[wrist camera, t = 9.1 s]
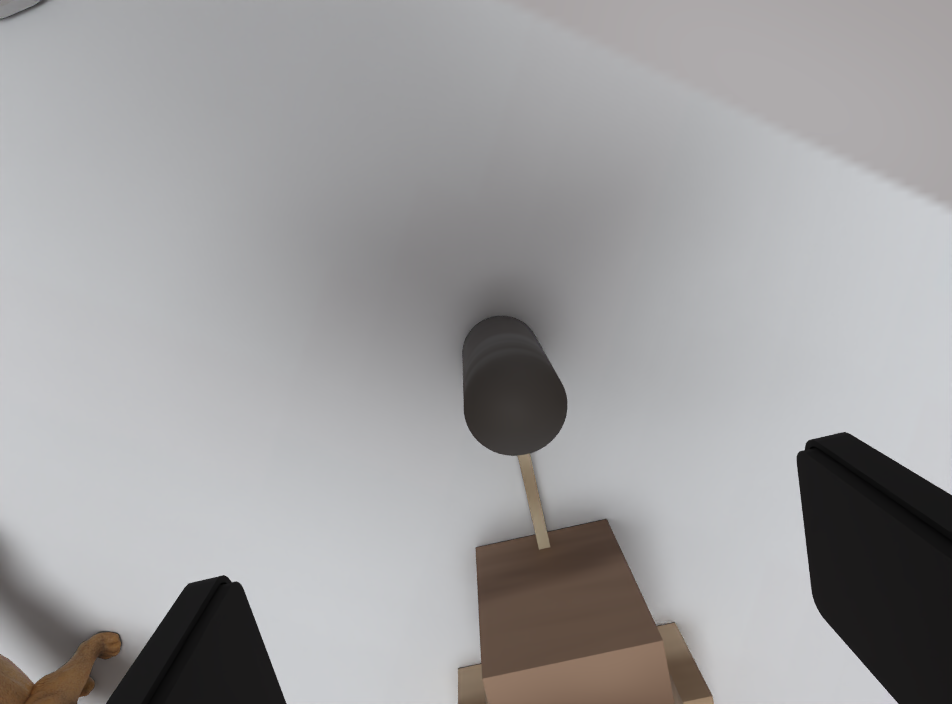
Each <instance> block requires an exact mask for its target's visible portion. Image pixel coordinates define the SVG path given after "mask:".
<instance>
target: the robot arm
mask: <svg viewBox="0 0 952 704" xmlns="http://www.w3.org/2000/svg"><path fill="white" fill-rule="evenodd" d="M39 1H41V0H0V19H1V18H5V17H8V16H10V15H12V14H15V13H17V12H19V11H22V10H24V9H26V8H29V7H31V6H33V5H35V4H37V3H38V2H39ZM797 468H798V477H799V485H800V494H801V503H802V511H803V520H804V528H805V537H806V546H807V554H808V563H809V572H810V580H811V589H812V595H813V599H814V602H815V604H816V606H817V609H818V610H819V612H820V614H821V615H822V617H823V618H824V619H825V620H826V622H827V623H828V624H829V625H830V626H831V627H832V628H833V629H834V631H835V632H836V633H837V634H838V635H839V636H840V637H841V639H842V640H843V641H844V642H845V643H846V644H847V645H848V647H849V648H850V649H851V650H852V651H853V652H854V653H855V655H856V656H857V657H858V658H859V659H860V660H861V661H862V663H863V664H864V665H865V666H866V667H867V668H868V669H869V671H870V672H871V673H872V674H873V675H874V676H875V677H876V679H877V680H878V681H879V682H880V683H881V684H882V685H883V687H884V688H885V689H886V690H887V691H888V692H889V693H890V695H891V696H892V697H893V698H894V699H895V700H896V701H897V703H898V704H952V495H950V494H949V493H947V492H945V491H944V490H942V489H940V488H939V487H937V486H935V485H934V484H932V483H930V482H929V481H927V480H925V479H924V478H922V477H920V476H919V475H917V474H916V473H914V472H912V471H911V470H909V469H907V468H906V467H904V466H902V465H901V464H899V463H897V462H896V461H894V460H892V459H891V458H889V457H887V456H886V455H884V454H882V453H881V452H879V451H877V450H876V449H874V448H872V447H871V446H869V445H867V444H866V443H864V442H862V441H861V440H859V439H857V438H856V437H854V436H852V435H851V434H849V433H846V432H843V433H838V434H834V435H829V436H825V437H821V438H816V439H812V440H809V441H808V442H807V443H806V446H805V450H804V451H800V452H799V453H798V455H797ZM106 704H286V701H285V699H284V696H283V693H282V691H281V688H280V685H279V683H278V680H277V677H276V675H275V672H274V669H273V667H272V664H271V661H270V659H269V656H268V653H267V651H266V648H265V645H264V643H263V640H262V637H261V635H260V632H259V629H258V626H257V624H256V621H255V618H254V616H253V613H252V610H251V608H250V605H249V602H248V600H247V597H246V594H245V592H244V589H243V587H242V585H241V584H240V583H239V582H231V580H230V579H229V578H228V577H226V576H224V575H223V576H219V577H215V578H210V579H206V580H202V581H197V582H193V583H189V584H188V585H187V586H186V587H185V588H184V590H183V591H182V592H181V594H180V595H179V597H178V598H177V600H176V601H175V603H174V604H173V606H172V607H171V609H170V610H169V612H168V613H167V615H166V616H165V617H164V619H163V620H162V622H161V623H160V625H159V626H158V628H157V629H156V631H155V632H154V634H153V635H152V637H151V638H150V640H149V641H148V642H147V644H146V645H145V647H144V648H143V650H142V651H141V653H140V654H139V656H138V657H137V659H136V660H135V662H134V663H133V665H132V666H131V667H130V669H129V670H128V672H127V673H126V675H125V676H124V678H123V679H122V681H121V682H120V684H119V685H118V687H117V688H116V690H115V691H114V692H113V694H112V695H111V697H110V698H109V700H108V701H107V703H106Z"/></svg>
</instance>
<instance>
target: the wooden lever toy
mask: <svg viewBox="0 0 952 704" xmlns="http://www.w3.org/2000/svg"><path fill="white" fill-rule="evenodd" d="M463 392H464V415H465V420H466V423H467V426H468V428H469V430H470V431H471V433H472V434H473V436H474V437H475V438H476V439H477V441H479V442H480V443H481V444H482V445H483V446H485V447H486V448H488V449H490V450H492V451H494V452H497V453H499V454H504V455H511V456H517V455H518V459H519V463H520V468H521V472H522V477H523V481H524V485H525V490H526V494H527V499H528V503H529V508H530V512H531V517H532V521H533V525H534V530H535V534H536V535H532V536H527V537H522V538H518V539H513V540H509V541H504V542H499V543H495V544H490V545H486V546H481V547H476V564H477V585H478V605H479V626H480V646H481V667H482V680H483V684H484V688H485V692H486V696H487V699H488V703H489V704H674V698H673V693H672V687H671V682H670V676H669V670H668V665H667V659H666V654H665V648H664V643H663V639H662V637H661V635H660V633H659V631H658V628H657V626H656V624H655V622H654V620H653V618H652V616H651V613H650V611H649V609H648V607H647V605H646V603H645V600H644V598H643V596H642V594H641V592H640V590H639V588H638V585H637V583H636V581H635V579H634V577H633V575H632V572H631V570H630V568H629V566H628V564H627V562H626V560H625V557H624V555H623V553H622V551H621V549H620V547H619V545H618V542H617V540H616V538H615V536H614V534H613V532H612V529H611V527H610V525H609V523H608V521H607V519H605V520H600V521H596V522H591V523H587V524H582V525H577V526H573V527H568V528H564V529H559V530H554V531H550V532H547V529H546V525H545V520H544V516H543V511H542V507H541V502H540V498H539V493H538V489H537V484H536V480H535V475H534V470H533V466H532V461H531V457H530V453H533V452H535V451H537V450H539V449H541V448H543V447H545V446H546V445H547V444H549V443H550V442H551V441H552V440H553V439H554V438H555V437H556V435H557V434H558V433H559V431H560V430H561V428H562V426H563V424H564V421H565V418H566V413H567V397H566V393H565V389H564V387H563V385H562V383H561V381H560V379H559V377H558V375H557V374H556V372H555V370H554V368H553V367H552V365H551V363H550V361H549V360H548V358H547V356H546V354H545V352H544V351H543V349H542V347H541V345H540V344H539V342H538V340H537V338H536V337H535V335H534V333H533V332H532V330H531V329H530V328H529V327H528V326H527V325H526V324H524V323H523V322H522V321H520V320H518V319H515V318H513V317H508V316H495V317H491V318H487V319H485V320H483V321H481V322H480V323H478V324H477V325H476V326H475V327H474V328H473V329H472V330H471V331H470V332H469V334H468V335H467V337H466V339H465V342H464V346H463Z"/></svg>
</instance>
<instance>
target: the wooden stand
mask: <svg viewBox="0 0 952 704" xmlns="http://www.w3.org/2000/svg"><path fill="white" fill-rule="evenodd" d="M657 628H658V631H659V633H660V635H661V637H662V639H663V643H664V648H665V654H666V659H667V665H668V670H669V676H670V682H671V687H672V693H673V698H674V704H714V702H713V696H712V694H711V692H710V690H709V688H708V686H707V684H706V682H705V680H704V678H703V677H702V675H701V673H700V671H699V669H698V667H697V665H696V663H695V661H694V659H693V657H692V655H691V653H690V651H689V649H688V647H687V645H686V643H685V641H684V639H683V637H682V636H681V634H680V632H679V630H678V628H677V626H676V624H675V623H671V624H666V625H661V626H657ZM458 704H489V703H488V699H487V696H486V692H485V688H484V684H483V680H482V667H481V664H478V665H473V666H469V667H464V668H459V669H458Z"/></svg>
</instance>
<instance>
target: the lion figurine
mask: <svg viewBox="0 0 952 704" xmlns="http://www.w3.org/2000/svg"><path fill="white" fill-rule="evenodd" d="M120 647H121V642H120V639H119V635H118V634H116V633H112V632H103V633H98V634H95V635H93V636H92V637H91V638H89V639H88V640H87V641H84V642H82V643H81V644H80V645H79V647H78V649H77V651H76V652H75V654H74V655H73V657H72V658H71V659H70V660H69V661H68V662H67V663H66V664H64V665H63V666H62V667H60V668H59V669H58V670H56V671H55V672H53V673H50V674H48V675H46V676H44V677H42V678H41V679H40V680H39V681H37V682H36V683H35V684H34V683H33V682H32V681H31V680H30V679H29V678H28V677H27V676H26V675H25V674H24V673H23V672H22V671H21V670H20V669H19V668H18V667H17V666H16V665H15V664H14V663H13V662H11V661H10V660H9V659H8V658H6V657H4V656H3V655H1V654H0V704H77V701H78V698H79V697H82V696H87V695H88V694H89V693H90V692H91V690H93V688H94V686H95V682H94V680H93V679H92V678H91V677H90V676H89V675H90V672H91V669H92V666H93V664H94V661H95V660H96V658H97V657H98V658H102V659H109V658H111V657H113V656H116V655H118V653H119V652H120Z"/></svg>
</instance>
